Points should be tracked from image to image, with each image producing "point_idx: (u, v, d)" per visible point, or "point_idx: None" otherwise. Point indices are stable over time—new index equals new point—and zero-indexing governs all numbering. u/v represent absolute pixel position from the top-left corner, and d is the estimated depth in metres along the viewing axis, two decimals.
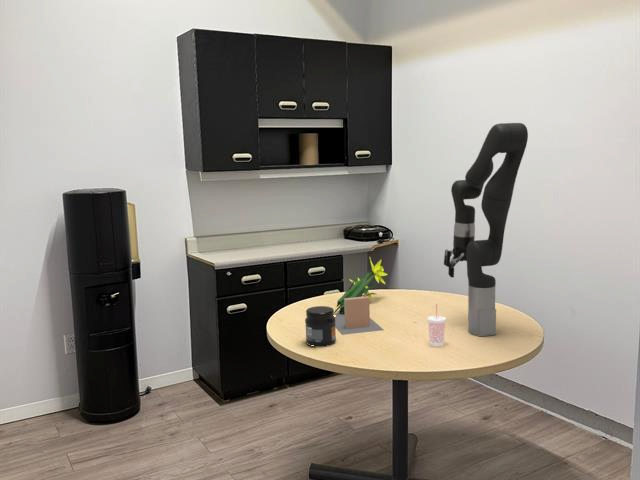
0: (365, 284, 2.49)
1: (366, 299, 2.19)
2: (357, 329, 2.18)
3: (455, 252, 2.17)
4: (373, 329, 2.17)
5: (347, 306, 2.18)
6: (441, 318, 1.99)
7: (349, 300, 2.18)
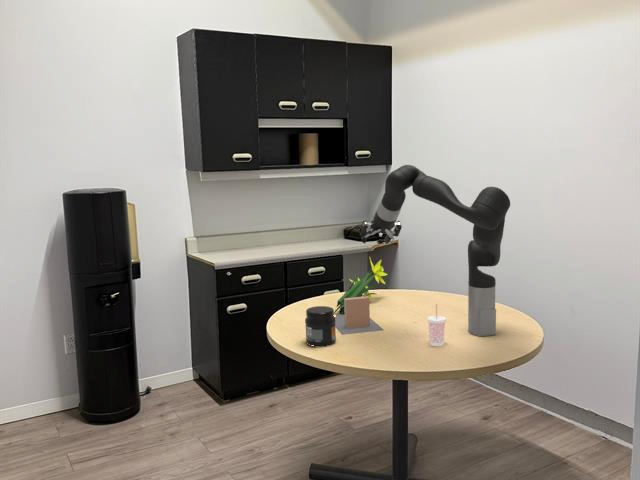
0: (365, 284, 2.49)
1: (366, 299, 2.19)
2: (357, 329, 2.18)
3: (372, 226, 2.03)
4: (373, 329, 2.17)
5: (347, 306, 2.18)
6: (441, 318, 1.99)
7: (349, 300, 2.18)
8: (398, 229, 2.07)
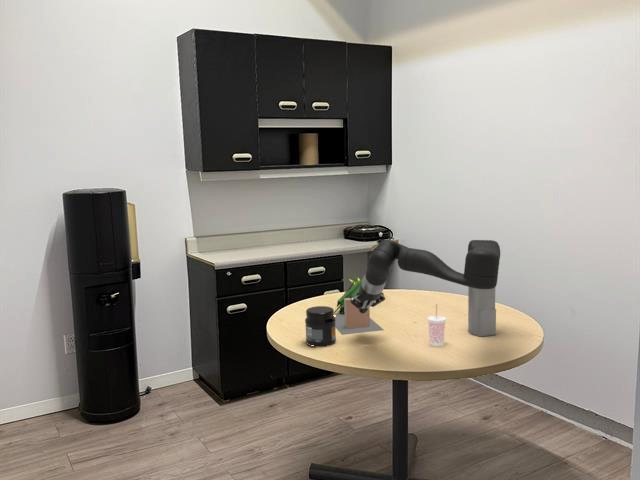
0: None
1: None
2: (357, 329, 2.18)
3: (359, 299, 2.01)
4: (373, 329, 2.17)
5: (347, 306, 2.18)
6: (441, 318, 1.99)
7: (349, 300, 2.18)
8: (380, 301, 2.05)
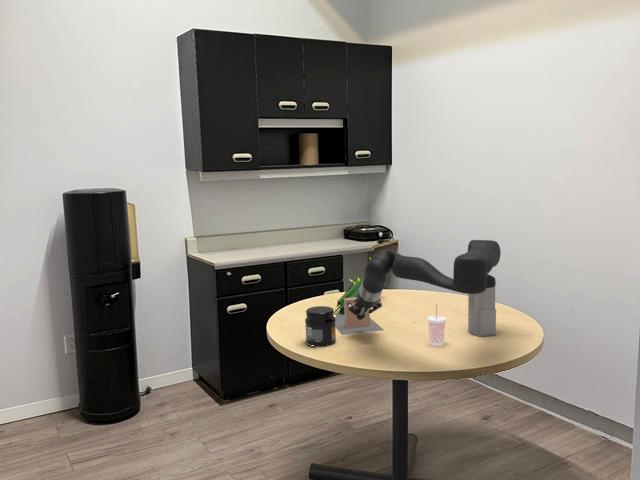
0: None
1: None
2: (357, 329, 2.18)
3: (356, 306, 2.05)
4: (373, 329, 2.17)
5: (347, 306, 2.18)
6: (441, 318, 1.99)
7: (349, 300, 2.18)
8: (377, 307, 2.09)
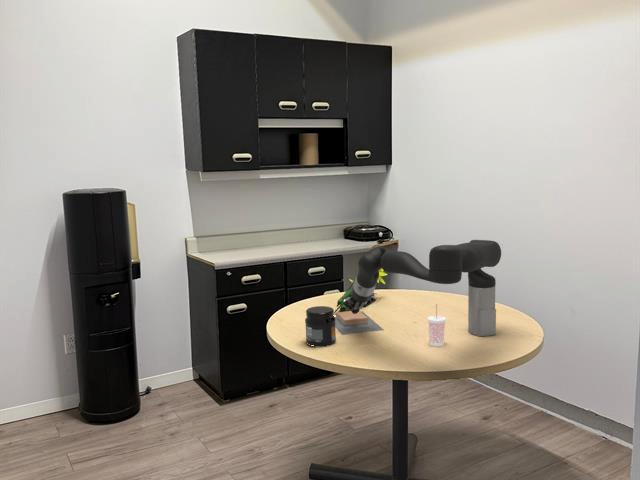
0: None
1: None
2: (357, 329, 2.18)
3: (351, 300, 2.12)
4: (373, 329, 2.17)
5: (339, 314, 2.29)
6: (441, 318, 1.99)
7: (340, 312, 2.32)
8: (371, 302, 2.16)
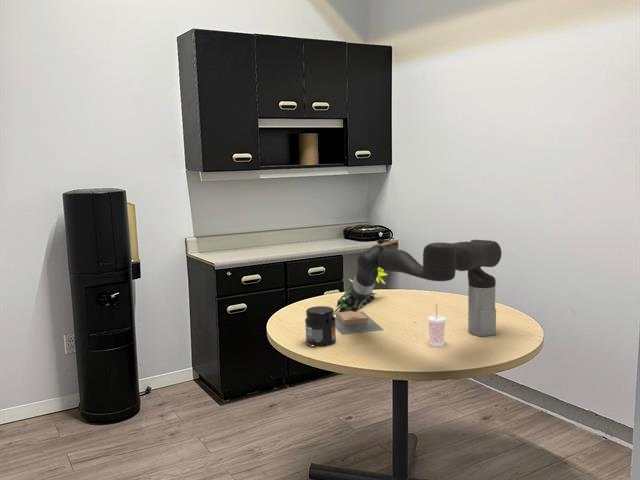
0: None
1: None
2: (357, 329, 2.18)
3: (350, 298, 2.14)
4: (373, 329, 2.17)
5: (339, 314, 2.29)
6: (441, 318, 1.99)
7: (340, 312, 2.32)
8: (370, 300, 2.18)
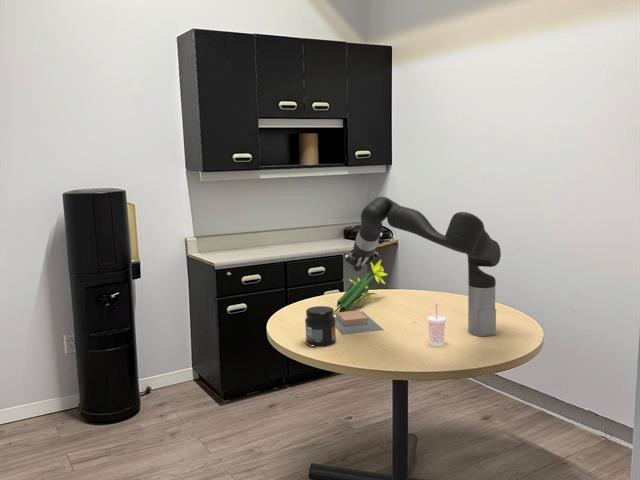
0: (365, 284, 2.49)
1: None
2: (357, 329, 2.18)
3: (353, 256, 2.06)
4: (373, 329, 2.17)
5: (339, 314, 2.29)
6: (441, 318, 1.99)
7: (340, 312, 2.32)
8: (374, 258, 2.10)
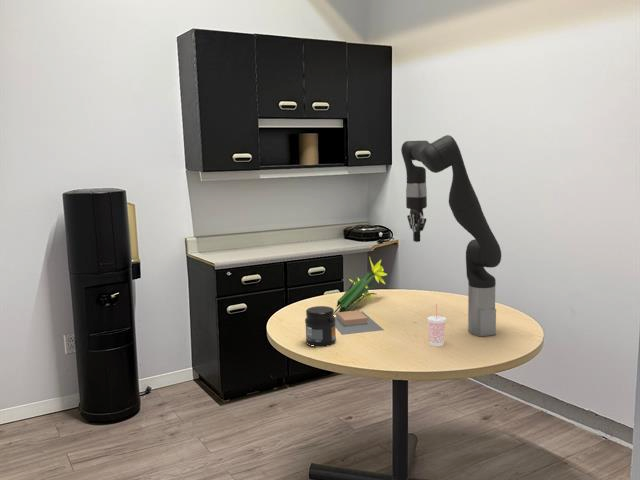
0: (365, 284, 2.49)
1: None
2: (357, 329, 2.18)
3: (410, 213, 2.23)
4: (373, 329, 2.17)
5: (339, 314, 2.29)
6: (441, 318, 1.99)
7: (340, 312, 2.32)
8: (418, 222, 2.16)
